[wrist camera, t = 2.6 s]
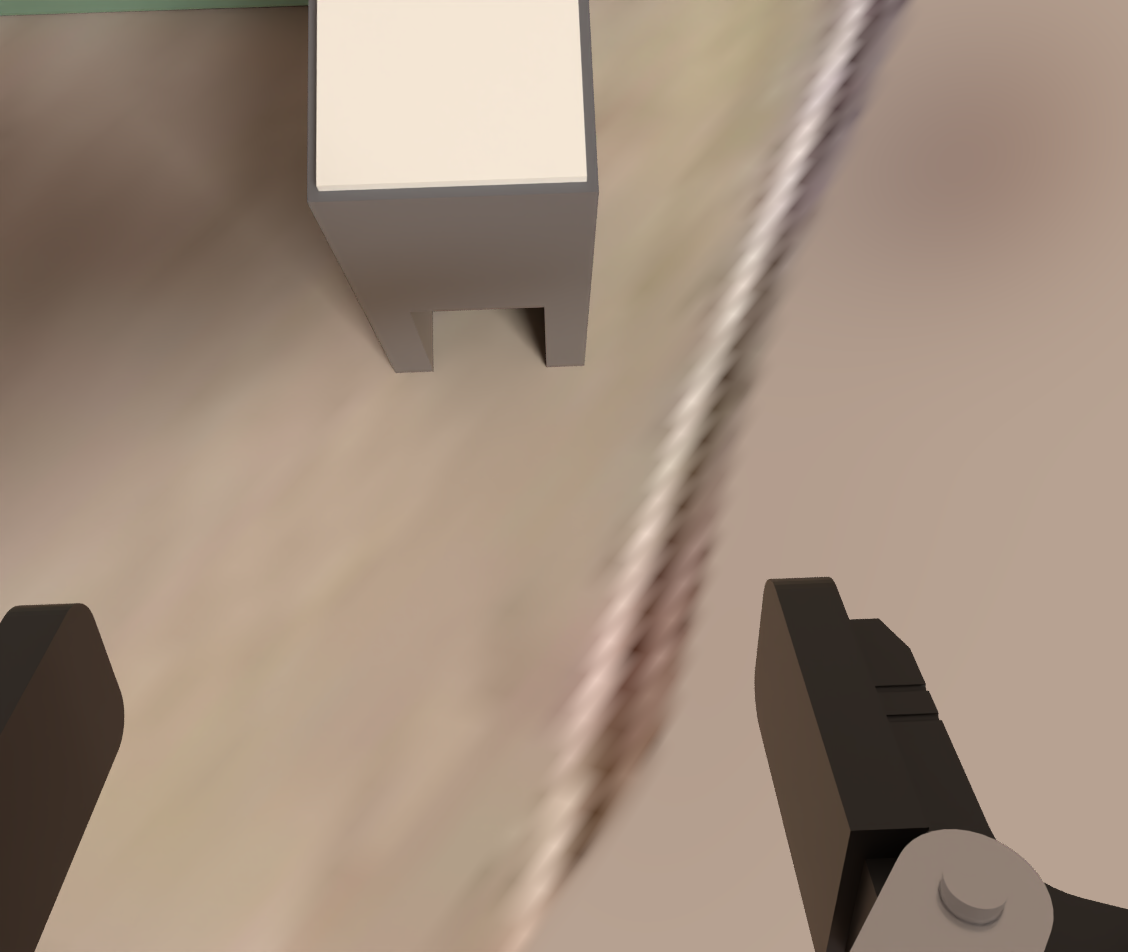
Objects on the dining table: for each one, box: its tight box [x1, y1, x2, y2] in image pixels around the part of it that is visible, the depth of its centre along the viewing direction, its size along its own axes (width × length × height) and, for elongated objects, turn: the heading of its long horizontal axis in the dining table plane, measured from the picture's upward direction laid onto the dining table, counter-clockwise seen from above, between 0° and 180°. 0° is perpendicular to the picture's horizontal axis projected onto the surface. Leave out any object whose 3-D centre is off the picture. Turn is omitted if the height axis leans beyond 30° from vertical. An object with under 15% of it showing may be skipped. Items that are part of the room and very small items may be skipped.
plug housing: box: [307, 0, 599, 373], centre depth 23 cm, size 5×6×10 cm
